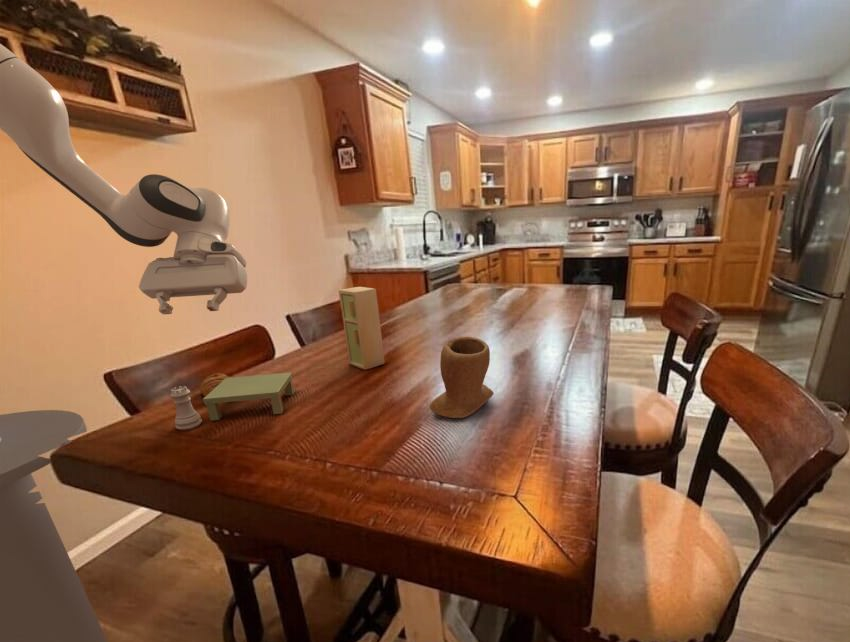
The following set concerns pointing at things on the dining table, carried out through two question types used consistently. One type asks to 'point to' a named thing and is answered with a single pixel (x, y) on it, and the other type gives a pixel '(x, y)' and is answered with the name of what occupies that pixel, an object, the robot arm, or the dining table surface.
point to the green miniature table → (250, 391)
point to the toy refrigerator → (362, 327)
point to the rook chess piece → (184, 409)
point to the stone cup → (463, 377)
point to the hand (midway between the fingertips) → (188, 311)
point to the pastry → (212, 383)
